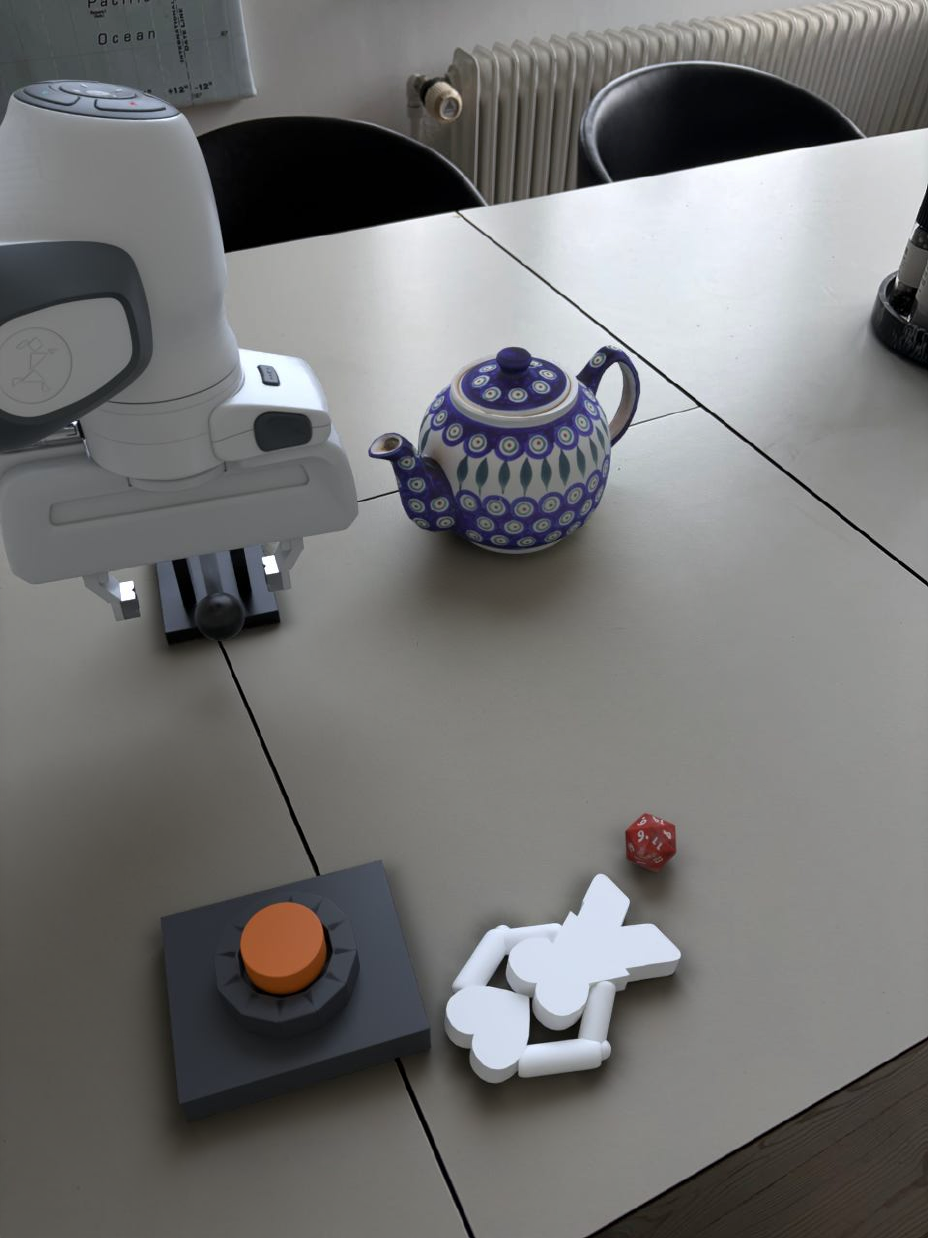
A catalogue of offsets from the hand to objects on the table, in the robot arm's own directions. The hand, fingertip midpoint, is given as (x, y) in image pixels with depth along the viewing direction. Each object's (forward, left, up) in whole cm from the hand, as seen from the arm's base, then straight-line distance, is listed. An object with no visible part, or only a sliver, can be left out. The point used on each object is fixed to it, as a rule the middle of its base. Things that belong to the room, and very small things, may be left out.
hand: (204, 598), depth 64 cm
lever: (+1, +5, -1) cm, 6 cm away
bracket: (+1, +9, -7) cm, 11 cm away
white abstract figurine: (+14, -28, -7) cm, 32 cm away
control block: (+1, -24, -7) cm, 25 cm away
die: (+22, -22, -7) cm, 32 cm away
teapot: (+25, +11, -7) cm, 28 cm away
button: (+1, -24, -3) cm, 24 cm away
